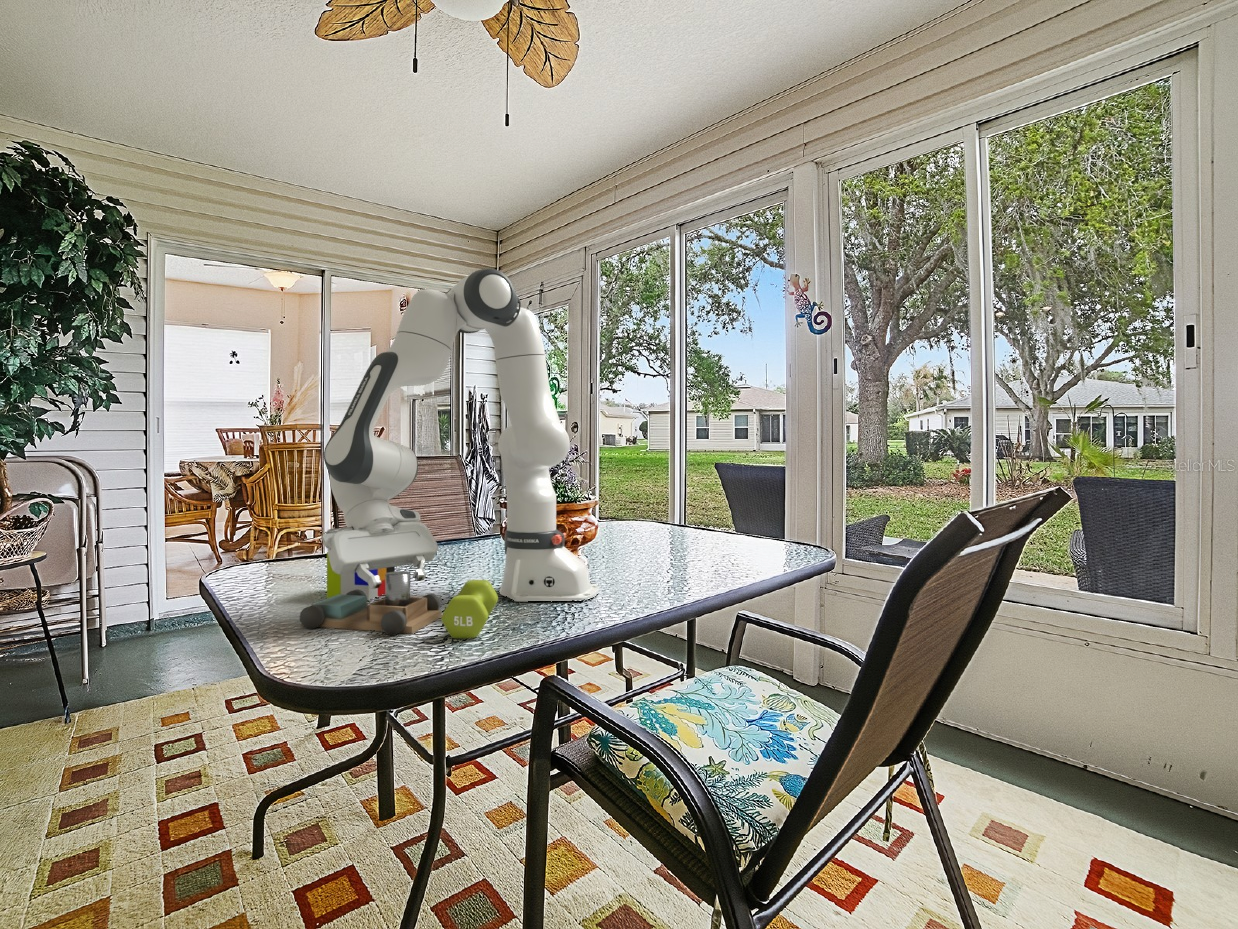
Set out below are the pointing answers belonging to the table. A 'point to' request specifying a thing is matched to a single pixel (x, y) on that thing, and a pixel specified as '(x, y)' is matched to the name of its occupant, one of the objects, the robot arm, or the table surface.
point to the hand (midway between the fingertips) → (399, 582)
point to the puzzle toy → (354, 582)
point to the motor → (397, 588)
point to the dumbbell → (470, 609)
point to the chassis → (371, 613)
